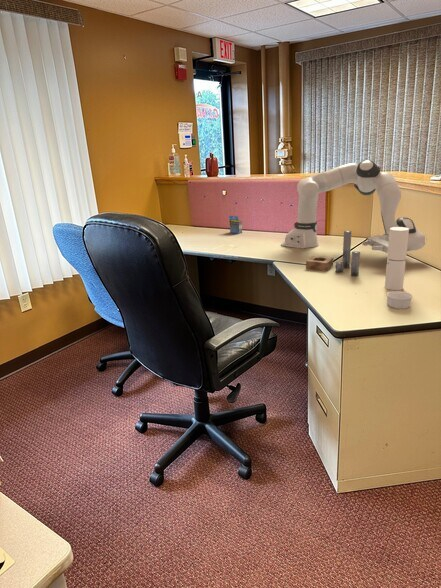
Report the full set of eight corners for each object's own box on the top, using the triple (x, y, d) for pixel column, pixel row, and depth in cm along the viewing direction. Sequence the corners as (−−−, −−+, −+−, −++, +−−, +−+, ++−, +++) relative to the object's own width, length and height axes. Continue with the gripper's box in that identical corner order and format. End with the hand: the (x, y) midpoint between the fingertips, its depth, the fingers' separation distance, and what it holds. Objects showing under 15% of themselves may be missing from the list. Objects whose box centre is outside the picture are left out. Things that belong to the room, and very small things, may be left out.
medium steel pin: (349, 275, 193) (351, 252, 189) (351, 273, 196) (353, 250, 192) (357, 276, 191) (358, 253, 188) (359, 274, 194) (360, 251, 190)
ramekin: (385, 308, 155) (386, 297, 153) (385, 300, 162) (386, 290, 161) (411, 310, 152) (413, 299, 150) (410, 302, 159) (411, 291, 158)
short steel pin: (334, 272, 199) (335, 263, 198) (336, 270, 202) (337, 261, 201) (341, 272, 198) (342, 263, 196) (343, 270, 201) (344, 262, 199)
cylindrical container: (394, 291, 171) (400, 231, 162) (380, 286, 177) (385, 228, 168) (406, 287, 174) (413, 228, 165) (392, 283, 180) (398, 226, 171)
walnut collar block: (306, 268, 207) (306, 260, 206) (313, 263, 215) (313, 255, 214) (326, 270, 202) (327, 263, 200) (333, 265, 210) (333, 257, 209)
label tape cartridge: (242, 232, 297) (241, 215, 293) (239, 233, 295) (238, 216, 290) (233, 231, 303) (232, 214, 299) (229, 232, 300) (228, 215, 296)
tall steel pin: (341, 267, 205) (343, 231, 199) (343, 266, 208) (345, 230, 202) (348, 268, 204) (350, 232, 197) (350, 266, 206) (352, 230, 200)
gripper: (405, 255, 197) (378, 257, 195) (382, 245, 216) (357, 247, 214) (406, 242, 195) (379, 244, 193) (383, 233, 214) (358, 235, 212)
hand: (367, 245), depth 204 cm, fingers open, 8 cm apart
